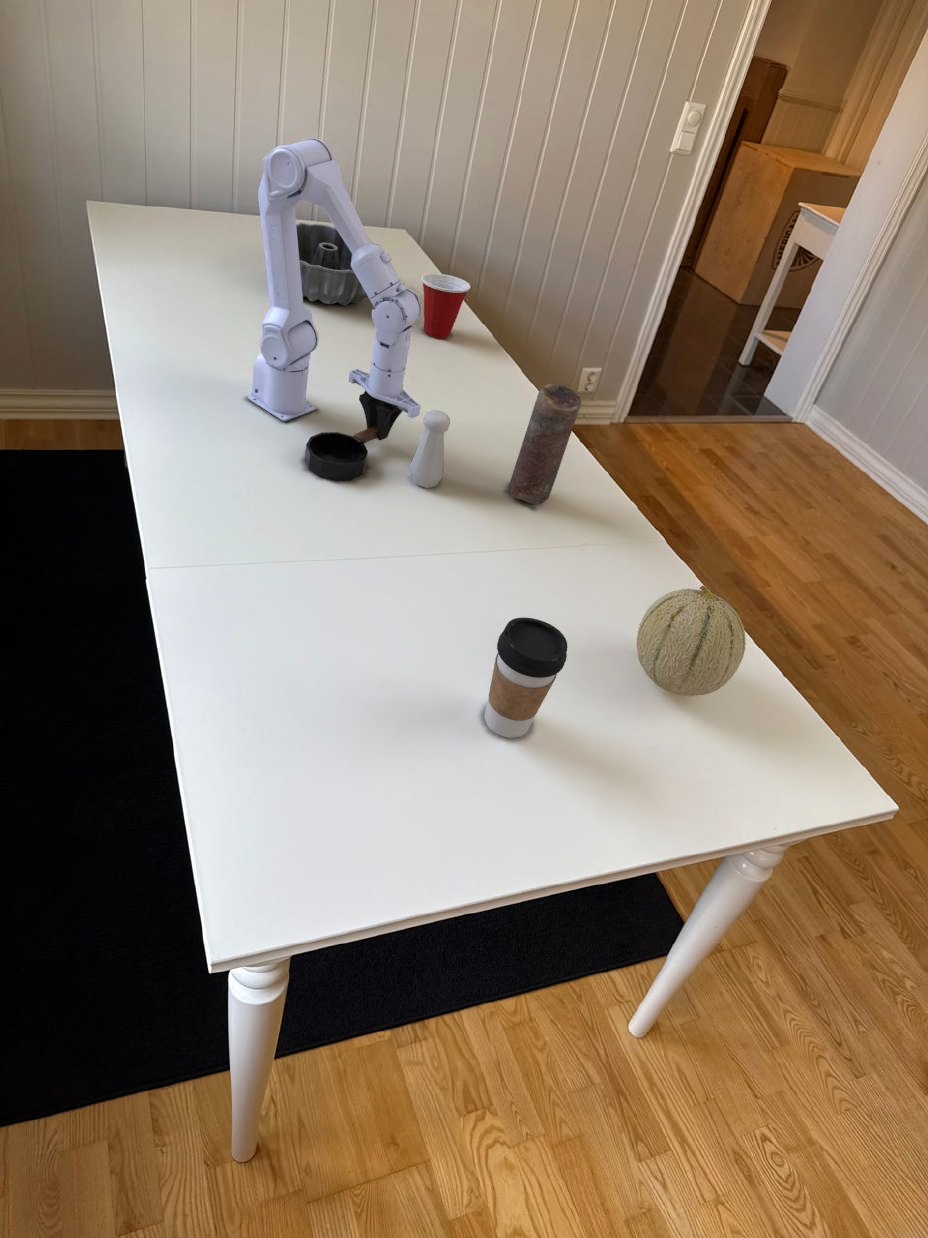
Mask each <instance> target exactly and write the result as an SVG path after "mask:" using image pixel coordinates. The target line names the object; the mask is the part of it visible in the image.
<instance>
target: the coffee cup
mask: <svg viewBox="0 0 928 1238" xmlns="http://www.w3.org/2000/svg"><path fill="white" fill-rule="evenodd" d="M496 649H497V650H496V651H497V653H496V655H495V659H494V664H493V670H492V675H491V680H490V687H489V692H488V698H487V703H486V707H485V712H484V721H485V724H486V726H487V727H488V728H489V730H490V731H492V732H493V733H494V734H496V735H498V736H501V737H503V738H507V739H515V738H519V737H522V736H523V735H525V734H527V732H528V730H529V728H530V727H531V724H532V722H533V721H534V719H535V717H536V715H537V713H538V711H539V709H540V708H541V706H542V704H543V703H544V701H545V699H546V697H547V696H548V693H549V692H550V690H551V688H552V686H553V685H554V682H555V680H556V679H557V676H558V674H559V673H560V672H561V671H562V670H563V668H564V666H565V664H566V662H567V658H568V655H567V652H568V641H567V639H566V636H565V635H564V634H563V633H562V632H561V631H560V630H559V629H558V628H557V627H555V626H554V625H553V624H551V623H548V622H546V621H544V620H541V619H539V618H538V619H537V618H532V617H516V618H512V619H510V621H508V622H507V623H506V625H505V627H504V628H503V630H502V632H501V633H500V634H499V637H498V639H497V642H496Z"/></svg>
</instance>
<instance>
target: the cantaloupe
mask: <svg viewBox="0 0 928 1238" xmlns="http://www.w3.org/2000/svg"><path fill="white" fill-rule="evenodd" d="M746 641H747V640H746V631H745V627H744V623H743V622H742V619H741V617H740V615H739V614H738V612H736V610H735V608H734V607H733V606H732V605H731V604H730V603H729V602H727V601H726V600H725V599H723V598H721V596H720V597H719V596H718V595H716V594H715V593H712V591H711V590H710V588H709V587H708V586H707V585H701V586H700V587H699V589H695V588H681V589H677V590H673V591H669V592H667V593H666V594H663V595H662V596H661V597H659V598H658V599H656V600H655V601H654V602H653V603H652V604H651V605H650V606H649V607H648V608H647V610H646V611H645V613H644V615H643V616H642V619H641V622H640V623H639V627H638V630H637V635H636V651H637V658H638V660H639V663H640V665H641V668H642V669H643V671H644V672H645V674H646V675H647V677H649V679H651V681H652V682H653V683H654V684H656V685H657V686H658V687H660V688H661V689H663V690H666V691H668V692H671V693H675V694H677V695H681V696H686V697H696V696H697V697H698V696H706V695H709V694H712V693H714V692H717V691H719V690H720V689H721V688H723V687H724V686H725V685H726V684H728V682H729V681H730V680H731V679H732V678H733V676H734V675H735V673H736V672H737V671H738V670H739V667H740V665H741V664H742V661H743V659H744V655H745V651H746V645H747V643H746Z"/></svg>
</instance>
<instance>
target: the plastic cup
mask: <svg viewBox="0 0 928 1238" xmlns="http://www.w3.org/2000/svg"><path fill="white" fill-rule="evenodd" d="M420 278H421V279H420V280H421V283H422V287H423V290H422V291H423V332H424V333H425V335H427V336H429V337H431V338H433V339H439V340H442V339H448V338H449V337H450V334H451V333H452V330H453V327H454V325H455V323H456V321H457V318H458V316H459V313H460V310H461V307H462V304H463V301H464V300H465V297H466V296H467V293H468V292H469V290H470V289H471V284H470V283H469V282H467V281H466V280H464V279H463V278H460V277H457V276H454V275H449V274H443V273H425V274H422V275H421V277H420Z"/></svg>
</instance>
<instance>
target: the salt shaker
mask: <svg viewBox="0 0 928 1238" xmlns="http://www.w3.org/2000/svg"><path fill="white" fill-rule="evenodd" d="M450 425H451V418H450V416H449V415H448V413H446V412H444V411H442V410H439V409H431V410H429V411H427V412H426V413H425V415H424V417H423V426H424V431H423V433H422V436H421V438H420V441H419V443H418V445H417V448H416V449H415V450H416V451H415V453H414V455H413V458H412V460H411V463H410V465H409V471H410V475H411V479H412V481H413V482H414V483H415V485H416V486H419V487H422V488H425V489H430V488H433V487H436V486H437V485H438V484H439V482H440V481H441V480H442V478H443V475H444V473H445V432H446V431H448V430H449V428H450Z"/></svg>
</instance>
